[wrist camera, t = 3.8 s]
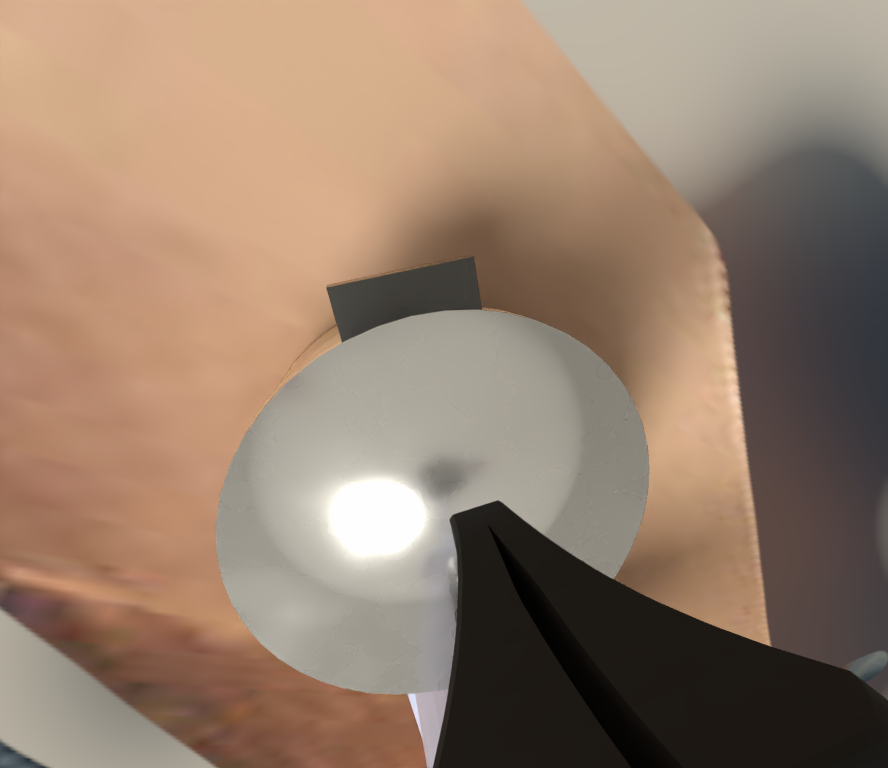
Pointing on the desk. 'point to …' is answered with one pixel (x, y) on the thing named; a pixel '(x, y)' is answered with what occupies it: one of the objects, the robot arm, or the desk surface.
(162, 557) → the desk surface
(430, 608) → the lid
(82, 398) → the desk surface
